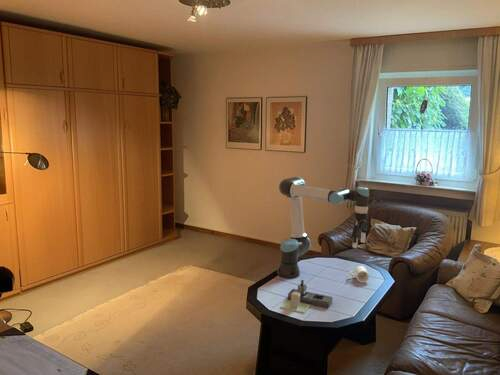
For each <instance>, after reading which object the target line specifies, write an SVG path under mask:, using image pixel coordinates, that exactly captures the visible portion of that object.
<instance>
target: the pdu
mask: <svg viewBox="0 0 500 375" xmlns="http://www.w3.org/2000/svg"><path fill="white" fill-rule="evenodd" d="M304 281H305V280H303V279H302V280H300V283H299V284H298V285H297V289H295V288H292V289H291V290H290V291H289V292H288V294H287V300H291V294H292V293H293V291H294V292H299V293H300V303H304V304H309V305H310V306H315V307H320V308H324V309H325V308H326V309H329V308H330V307H331V305H332V304H333V298H334V297H333V296H331V295H325V294H320V293H317V292H316V293H315V292H310V291H307V284H304Z"/></svg>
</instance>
